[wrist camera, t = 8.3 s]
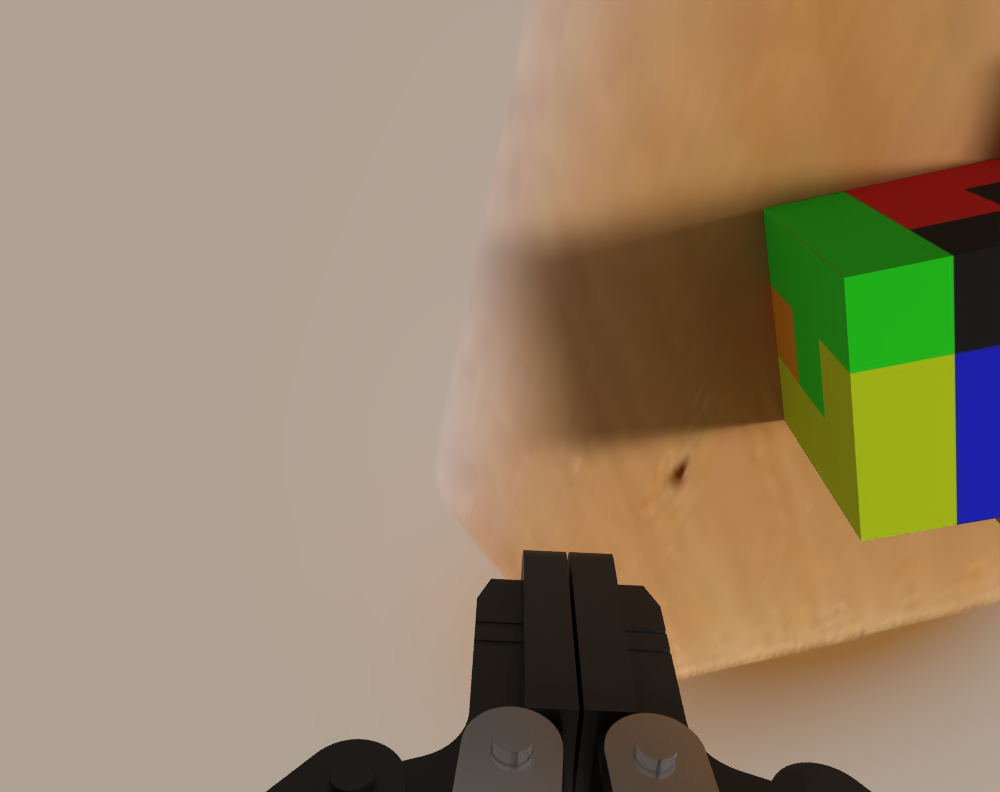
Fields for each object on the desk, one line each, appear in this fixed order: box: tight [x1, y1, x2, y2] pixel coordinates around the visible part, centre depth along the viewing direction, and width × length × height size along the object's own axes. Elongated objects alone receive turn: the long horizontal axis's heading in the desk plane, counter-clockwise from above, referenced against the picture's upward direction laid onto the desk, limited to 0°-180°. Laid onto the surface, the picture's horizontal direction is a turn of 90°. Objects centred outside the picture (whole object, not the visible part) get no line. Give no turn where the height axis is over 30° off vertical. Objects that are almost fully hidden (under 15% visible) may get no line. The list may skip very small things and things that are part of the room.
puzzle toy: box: [763, 158, 1000, 541], centre depth 33 cm, size 10×10×10 cm
